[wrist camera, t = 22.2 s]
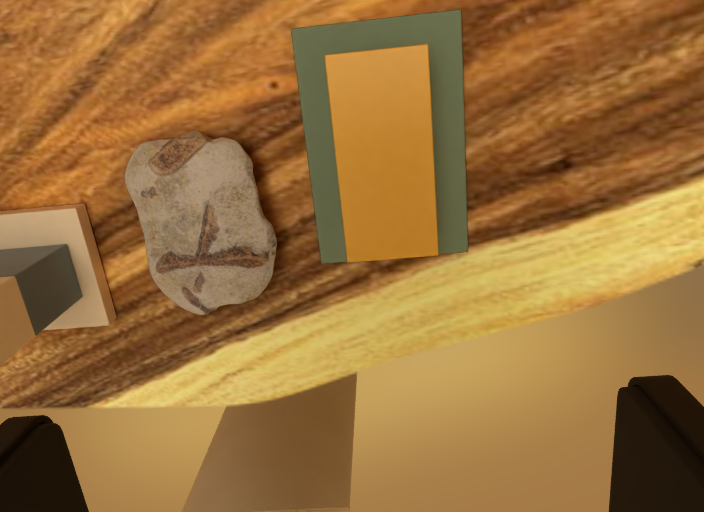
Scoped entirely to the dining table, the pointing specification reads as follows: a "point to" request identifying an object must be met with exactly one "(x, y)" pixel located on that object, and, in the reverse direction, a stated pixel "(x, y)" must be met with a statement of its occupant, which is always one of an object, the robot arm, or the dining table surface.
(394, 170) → the bar
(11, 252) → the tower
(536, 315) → the dining table surface
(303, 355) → the dining table surface
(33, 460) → the robot arm
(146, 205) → the stone
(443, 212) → the mat
